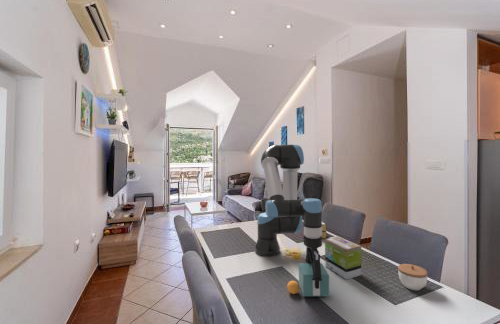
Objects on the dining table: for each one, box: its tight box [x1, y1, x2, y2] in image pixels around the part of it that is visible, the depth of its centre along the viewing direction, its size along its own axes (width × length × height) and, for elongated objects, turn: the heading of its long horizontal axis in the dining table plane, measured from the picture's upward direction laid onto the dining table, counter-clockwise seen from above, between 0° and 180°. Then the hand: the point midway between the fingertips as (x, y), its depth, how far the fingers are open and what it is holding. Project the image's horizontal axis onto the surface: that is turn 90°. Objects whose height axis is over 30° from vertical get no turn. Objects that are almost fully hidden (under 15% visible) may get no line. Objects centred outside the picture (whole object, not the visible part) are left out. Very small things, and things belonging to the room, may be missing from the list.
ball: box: [286, 280, 300, 295], centre depth 102 cm, size 5×5×5 cm
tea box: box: [324, 236, 362, 280], centre depth 120 cm, size 15×10×15 cm, turn 23°
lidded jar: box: [397, 263, 429, 292], centre depth 105 cm, size 11×11×9 cm
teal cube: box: [298, 262, 330, 297], centre depth 102 cm, size 10×10×9 cm
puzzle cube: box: [321, 221, 327, 240], centre depth 171 cm, size 10×10×10 cm
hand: (313, 287), depth 102 cm, fingers closed on teal cube, 10 cm apart
